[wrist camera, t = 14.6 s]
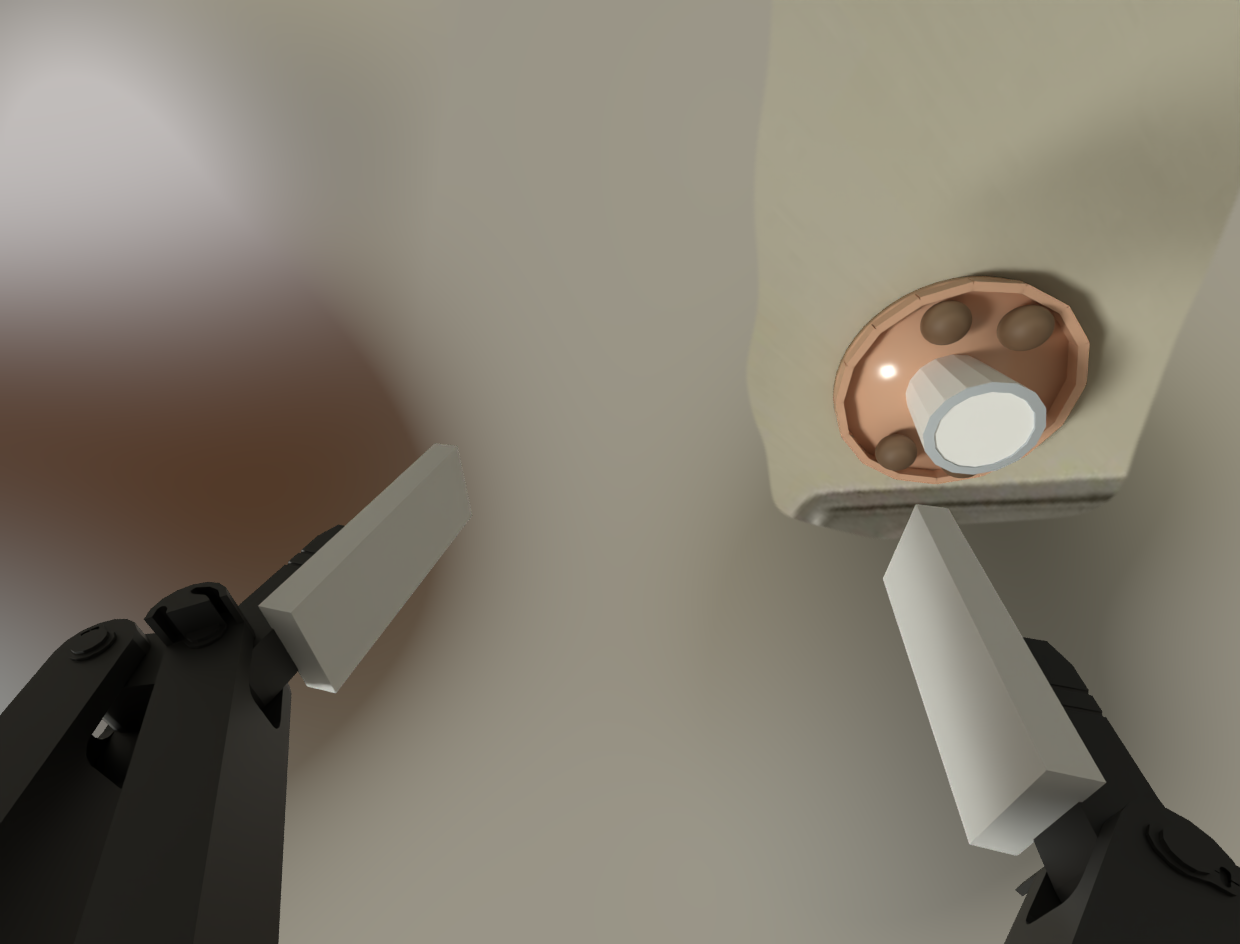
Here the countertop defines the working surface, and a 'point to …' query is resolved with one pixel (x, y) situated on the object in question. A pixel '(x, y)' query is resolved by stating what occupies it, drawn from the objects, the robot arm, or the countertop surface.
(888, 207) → the countertop surface
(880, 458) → the bead
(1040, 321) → the bead
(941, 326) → the bead
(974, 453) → the white cup
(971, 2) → the countertop surface
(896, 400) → the tray
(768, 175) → the countertop surface
